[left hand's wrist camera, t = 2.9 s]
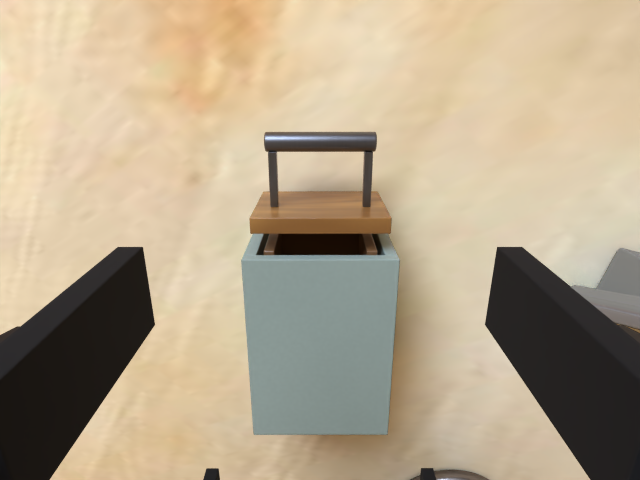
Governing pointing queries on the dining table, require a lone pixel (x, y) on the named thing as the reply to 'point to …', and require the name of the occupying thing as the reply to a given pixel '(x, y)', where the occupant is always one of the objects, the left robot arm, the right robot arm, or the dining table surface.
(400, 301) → the dining table surface
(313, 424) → the sage green storage bin
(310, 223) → the drawer
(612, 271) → the digital clock
